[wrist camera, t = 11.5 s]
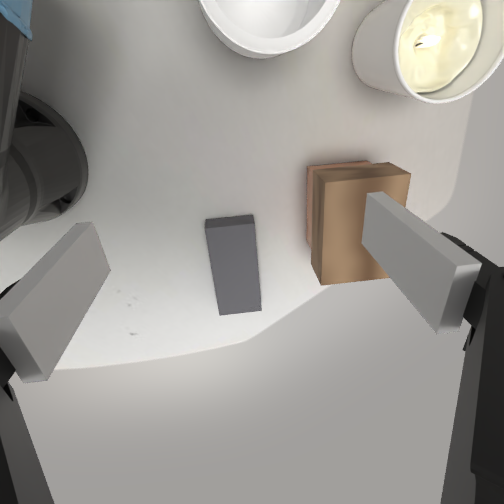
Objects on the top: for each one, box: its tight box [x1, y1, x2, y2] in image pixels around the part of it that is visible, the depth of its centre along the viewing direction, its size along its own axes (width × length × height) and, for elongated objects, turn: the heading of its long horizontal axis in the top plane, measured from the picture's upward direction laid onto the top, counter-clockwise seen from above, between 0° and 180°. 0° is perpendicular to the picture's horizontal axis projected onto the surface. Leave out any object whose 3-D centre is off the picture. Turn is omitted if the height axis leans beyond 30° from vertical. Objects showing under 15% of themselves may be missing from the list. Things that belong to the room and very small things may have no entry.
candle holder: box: [352, 0, 504, 104], centre depth 30 cm, size 10×10×12 cm
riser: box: [205, 215, 262, 315], centre depth 46 cm, size 7×15×3 cm, turn 4°
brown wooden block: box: [311, 162, 411, 285], centre depth 37 cm, size 9×13×5 cm
